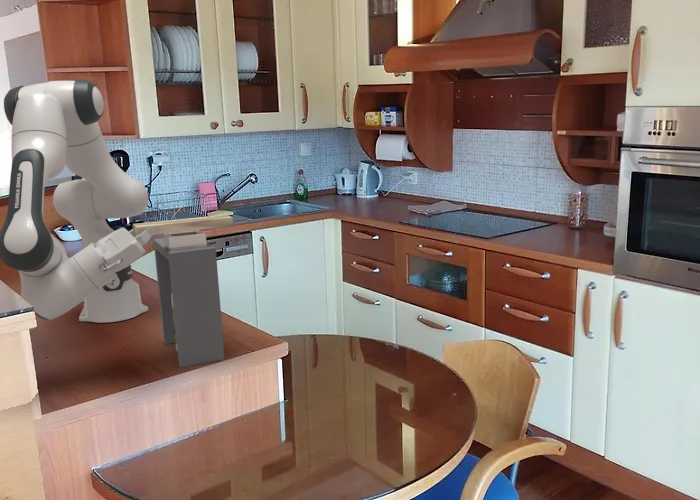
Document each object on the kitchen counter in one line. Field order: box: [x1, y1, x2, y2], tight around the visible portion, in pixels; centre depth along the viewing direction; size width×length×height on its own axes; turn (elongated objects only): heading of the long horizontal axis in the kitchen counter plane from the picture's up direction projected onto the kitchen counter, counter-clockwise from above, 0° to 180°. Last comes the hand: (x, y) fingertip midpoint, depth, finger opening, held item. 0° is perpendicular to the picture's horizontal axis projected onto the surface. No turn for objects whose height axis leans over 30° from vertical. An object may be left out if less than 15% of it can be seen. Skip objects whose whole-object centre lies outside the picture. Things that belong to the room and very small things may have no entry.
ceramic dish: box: [163, 230, 207, 252], centre depth 149 cm, size 6×8×3 cm
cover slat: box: [132, 214, 234, 236], centre depth 148 cm, size 5×21×2 cm, turn 116°
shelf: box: [153, 237, 226, 368], centre depth 156 cm, size 20×10×26 cm, turn 26°
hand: (152, 226), depth 145 cm, fingers closed on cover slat, 5 cm apart
